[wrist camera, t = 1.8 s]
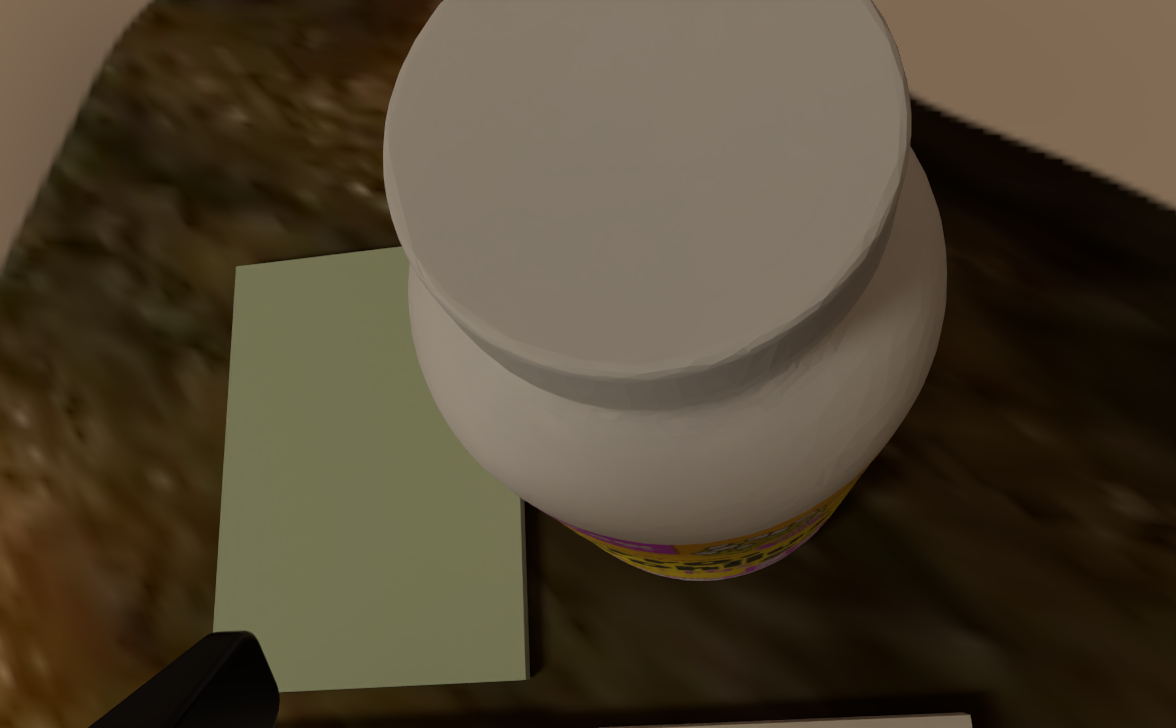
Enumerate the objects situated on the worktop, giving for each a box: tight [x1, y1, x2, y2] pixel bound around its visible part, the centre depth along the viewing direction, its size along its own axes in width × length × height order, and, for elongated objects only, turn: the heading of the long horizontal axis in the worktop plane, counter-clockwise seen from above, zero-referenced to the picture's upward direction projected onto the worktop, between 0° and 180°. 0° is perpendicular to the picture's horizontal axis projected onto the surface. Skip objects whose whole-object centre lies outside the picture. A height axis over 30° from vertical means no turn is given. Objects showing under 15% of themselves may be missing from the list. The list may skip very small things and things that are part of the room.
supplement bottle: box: [383, 0, 947, 581], centre depth 14 cm, size 7×7×13 cm
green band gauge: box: [213, 247, 972, 728], centre depth 20 cm, size 13×16×1 cm
